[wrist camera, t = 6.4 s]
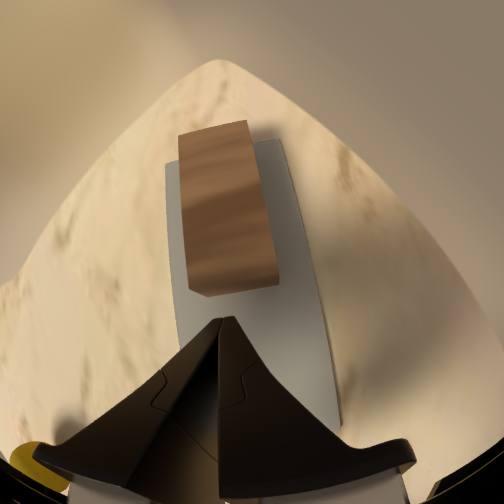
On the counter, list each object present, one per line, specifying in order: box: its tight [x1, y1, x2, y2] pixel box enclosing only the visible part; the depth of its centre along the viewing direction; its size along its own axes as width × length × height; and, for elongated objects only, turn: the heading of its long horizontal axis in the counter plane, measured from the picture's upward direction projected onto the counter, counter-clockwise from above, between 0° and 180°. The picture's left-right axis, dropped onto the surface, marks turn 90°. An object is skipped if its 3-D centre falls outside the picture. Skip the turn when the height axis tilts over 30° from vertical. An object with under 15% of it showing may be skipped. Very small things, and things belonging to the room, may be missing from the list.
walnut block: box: [178, 120, 279, 297], centre depth 18 cm, size 4×5×11 cm
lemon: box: [10, 441, 70, 493], centre depth 12 cm, size 6×6×8 cm
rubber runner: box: [165, 139, 341, 432], centre depth 19 cm, size 23×10×1 cm, turn 10°
